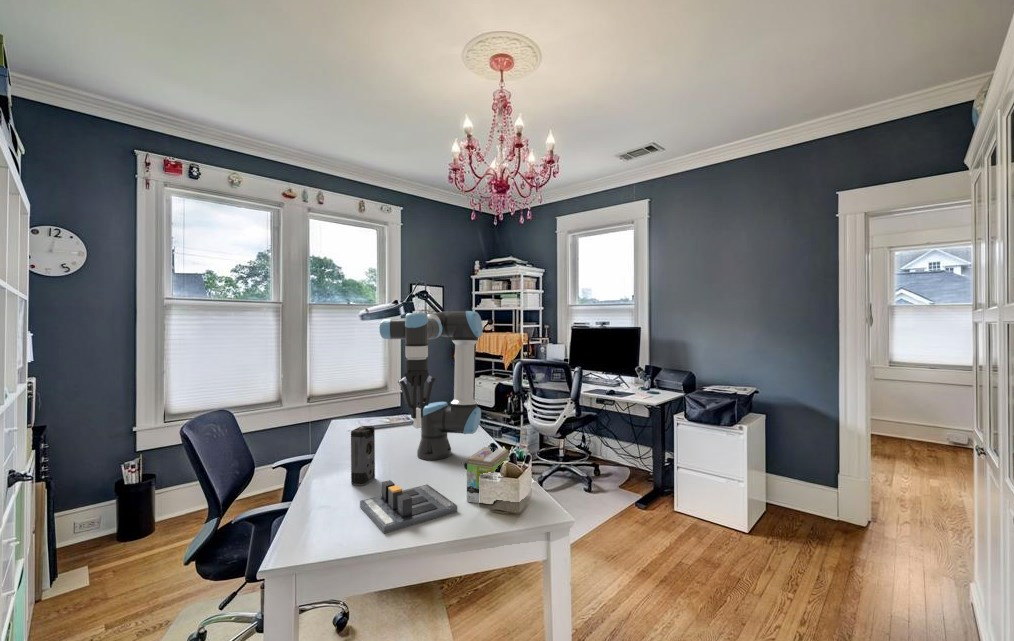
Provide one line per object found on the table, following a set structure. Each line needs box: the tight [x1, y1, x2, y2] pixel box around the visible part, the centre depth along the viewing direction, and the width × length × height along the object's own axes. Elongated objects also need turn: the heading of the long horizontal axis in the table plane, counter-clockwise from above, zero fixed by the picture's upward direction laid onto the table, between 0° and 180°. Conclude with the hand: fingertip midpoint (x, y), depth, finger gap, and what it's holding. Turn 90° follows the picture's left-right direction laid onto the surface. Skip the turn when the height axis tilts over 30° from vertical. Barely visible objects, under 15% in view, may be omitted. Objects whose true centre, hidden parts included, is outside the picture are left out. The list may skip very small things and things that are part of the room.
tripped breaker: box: [388, 484, 403, 509], centre depth 140 cm, size 3×4×6 cm
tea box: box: [466, 446, 510, 504], centre depth 153 cm, size 15×10×15 cm
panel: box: [359, 479, 458, 535], centre depth 143 cm, size 24×22×7 cm
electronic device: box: [350, 425, 376, 487], centre depth 167 cm, size 9×6×20 cm, turn 168°
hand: (417, 427), depth 151 cm, fingers closed
